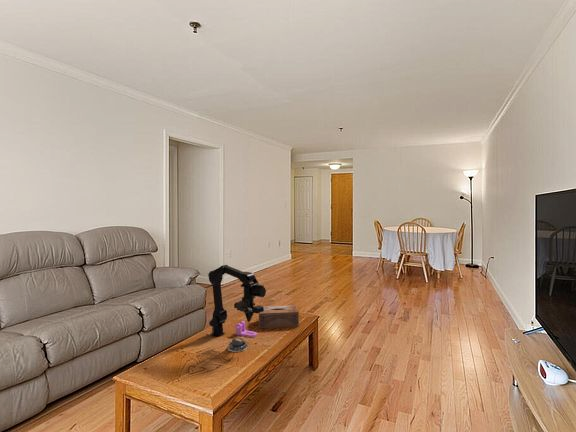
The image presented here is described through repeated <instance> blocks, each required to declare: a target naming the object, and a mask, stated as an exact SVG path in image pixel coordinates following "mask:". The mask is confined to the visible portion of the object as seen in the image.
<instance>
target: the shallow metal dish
mask: <svg viewBox="0 0 576 432" xmlns="http://www.w3.org/2000/svg"><path fill="white" fill-rule="evenodd" d="M248 348H249V345H248V342H247V341H246V340H243V346H240V347H233V346H232V341H230V342H229V343H228V346H227V350H228V351H230V352H233V353H239V352H244V351H246V350H247V349H248Z"/></svg>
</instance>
